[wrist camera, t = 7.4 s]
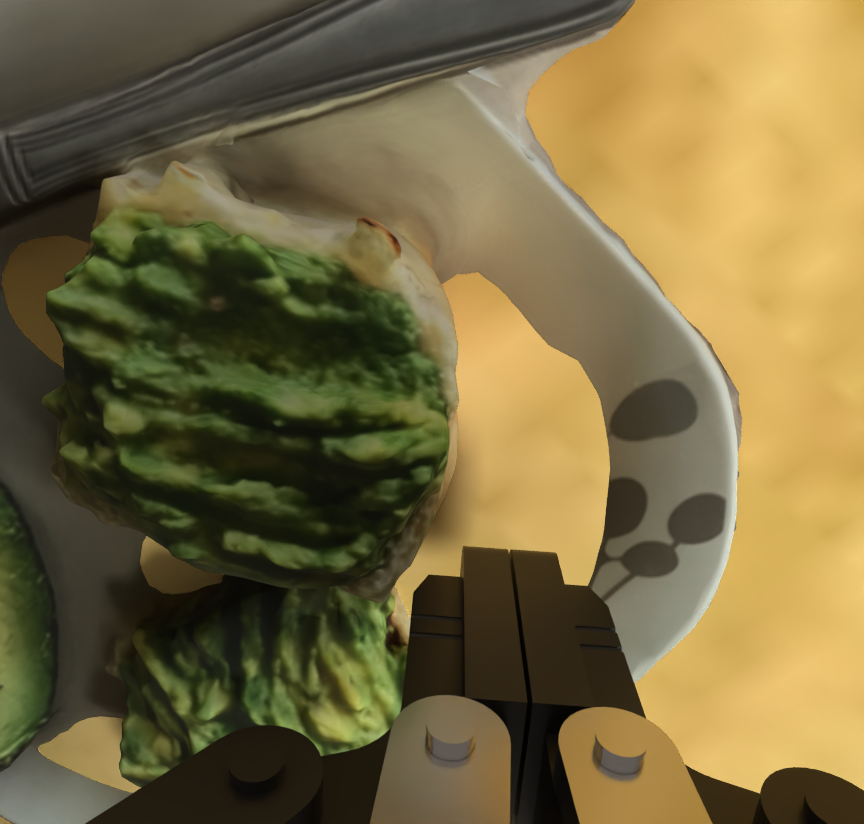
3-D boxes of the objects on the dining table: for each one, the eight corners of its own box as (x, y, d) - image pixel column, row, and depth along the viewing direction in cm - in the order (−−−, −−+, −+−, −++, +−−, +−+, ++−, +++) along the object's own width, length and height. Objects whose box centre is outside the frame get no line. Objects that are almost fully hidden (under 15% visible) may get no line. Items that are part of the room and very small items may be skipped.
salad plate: (189, -553, 9) (-39, -1181, 5) (964, 380, 13) (1224, 487, 9) (-428, 441, 14) (-822, 564, 10) (273, 920, 18) (215, 1165, 13)
